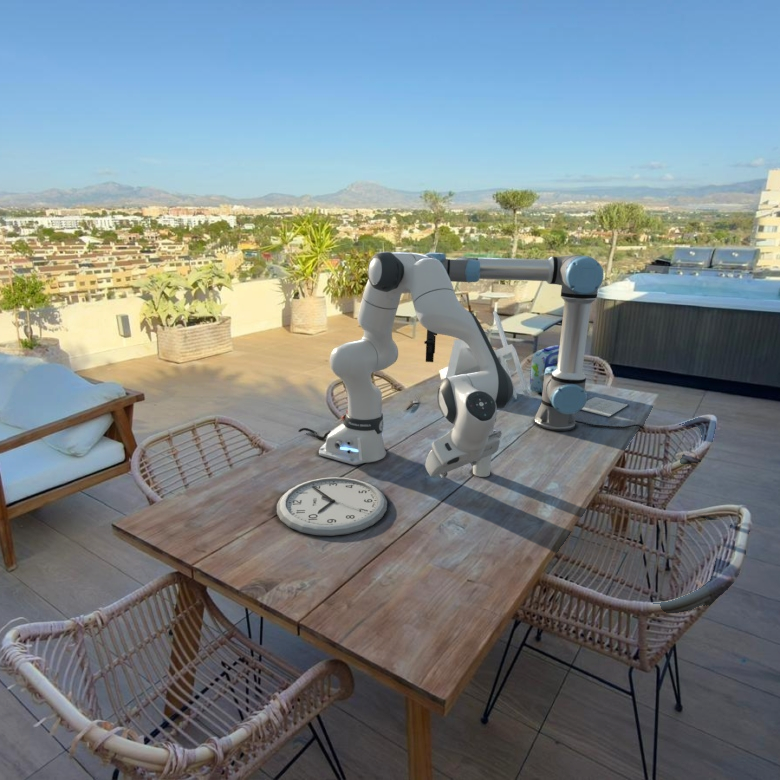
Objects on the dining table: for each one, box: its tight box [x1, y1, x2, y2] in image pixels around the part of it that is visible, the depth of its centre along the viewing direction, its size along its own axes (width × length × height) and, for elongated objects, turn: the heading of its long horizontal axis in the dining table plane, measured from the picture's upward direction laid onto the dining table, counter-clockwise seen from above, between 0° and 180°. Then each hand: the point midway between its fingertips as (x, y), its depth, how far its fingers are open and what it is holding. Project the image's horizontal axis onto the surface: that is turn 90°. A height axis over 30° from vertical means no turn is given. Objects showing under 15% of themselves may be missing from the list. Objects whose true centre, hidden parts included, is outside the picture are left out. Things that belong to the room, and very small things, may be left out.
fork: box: [406, 394, 421, 411], centre depth 223 cm, size 3×16×2 cm, turn 160°
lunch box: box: [529, 345, 560, 394], centre depth 245 cm, size 26×11×21 cm, turn 134°
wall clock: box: [276, 476, 388, 537], centre depth 142 cm, size 30×2×30 cm
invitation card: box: [580, 396, 629, 418], centre depth 226 cm, size 21×1×15 cm
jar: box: [472, 426, 495, 478], centre depth 160 cm, size 5×5×19 cm
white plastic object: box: [438, 310, 531, 400], centre depth 245 cm, size 37×45×31 cm
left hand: (458, 469), depth 140 cm, fingers open, 8 cm apart
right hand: (430, 357), depth 190 cm, fingers open, 13 cm apart
